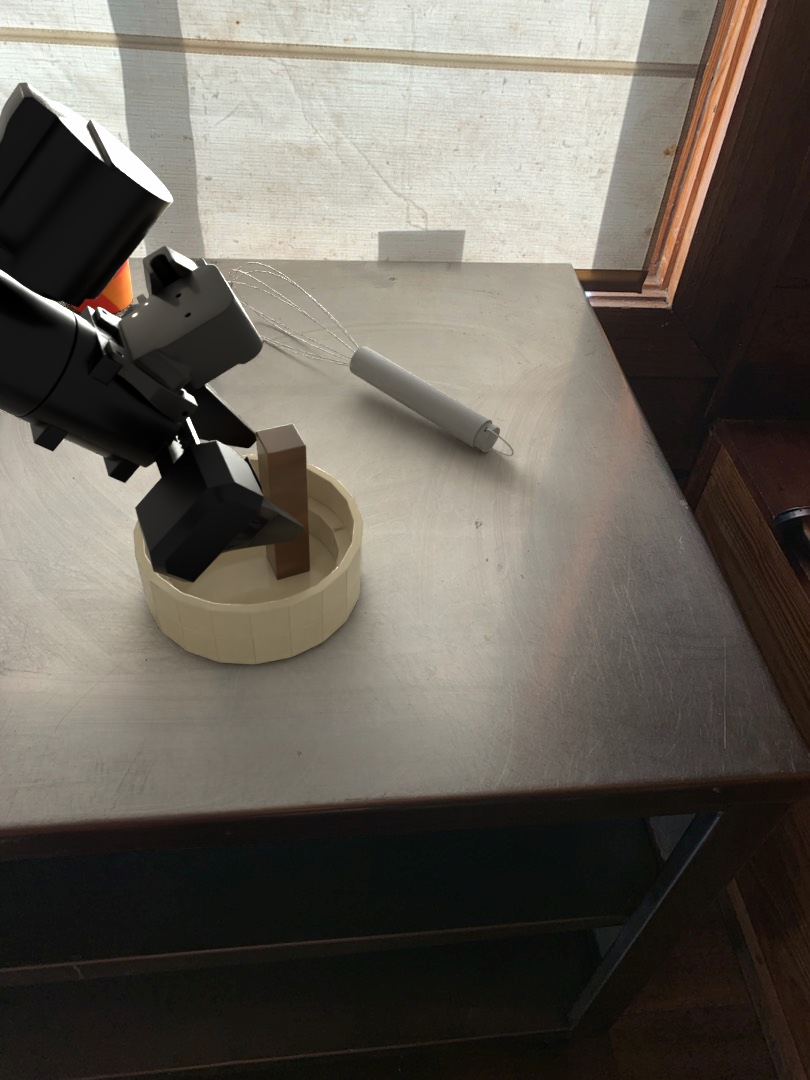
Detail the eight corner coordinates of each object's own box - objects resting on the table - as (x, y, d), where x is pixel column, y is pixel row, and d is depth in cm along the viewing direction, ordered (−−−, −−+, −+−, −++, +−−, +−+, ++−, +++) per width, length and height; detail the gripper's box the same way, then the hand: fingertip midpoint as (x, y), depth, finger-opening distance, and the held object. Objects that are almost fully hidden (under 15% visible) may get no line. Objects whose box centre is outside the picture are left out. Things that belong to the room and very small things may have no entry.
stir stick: (277, 580, 54) (267, 454, 46) (266, 557, 55) (255, 430, 47) (310, 571, 54) (306, 445, 47) (299, 548, 56) (293, 422, 48)
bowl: (156, 689, 47) (140, 632, 44) (142, 528, 57) (128, 470, 53) (383, 644, 51) (387, 588, 47) (335, 499, 60) (334, 443, 56)
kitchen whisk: (490, 481, 63) (502, 417, 59) (209, 326, 77) (201, 264, 73) (531, 447, 67) (545, 383, 62) (255, 304, 81) (250, 244, 76)
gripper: (194, 336, 30) (430, 489, 41) (106, 157, 41) (309, 315, 53) (27, 535, 33) (291, 626, 44) (-11, 316, 44) (206, 433, 56)
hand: (275, 485), depth 49 cm, fingers open, 9 cm apart
